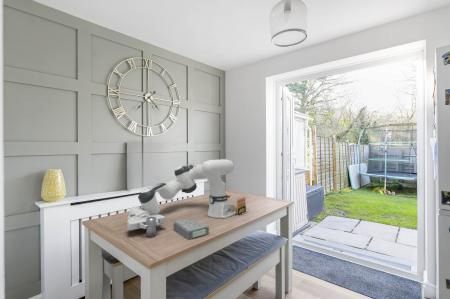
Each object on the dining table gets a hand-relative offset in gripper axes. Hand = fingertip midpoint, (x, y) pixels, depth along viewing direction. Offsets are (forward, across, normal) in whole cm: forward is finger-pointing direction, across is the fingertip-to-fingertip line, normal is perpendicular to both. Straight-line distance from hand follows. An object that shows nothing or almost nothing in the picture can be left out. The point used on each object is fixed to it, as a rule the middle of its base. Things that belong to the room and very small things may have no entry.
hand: (151, 225), depth 126 cm
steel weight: (-1, 0, -5) cm, 5 cm away
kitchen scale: (+7, -20, -6) cm, 22 cm away
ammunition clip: (-1, -66, -6) cm, 66 cm away
